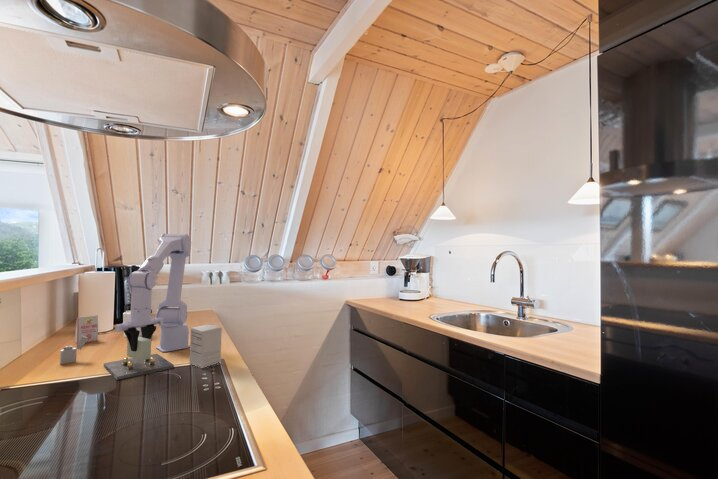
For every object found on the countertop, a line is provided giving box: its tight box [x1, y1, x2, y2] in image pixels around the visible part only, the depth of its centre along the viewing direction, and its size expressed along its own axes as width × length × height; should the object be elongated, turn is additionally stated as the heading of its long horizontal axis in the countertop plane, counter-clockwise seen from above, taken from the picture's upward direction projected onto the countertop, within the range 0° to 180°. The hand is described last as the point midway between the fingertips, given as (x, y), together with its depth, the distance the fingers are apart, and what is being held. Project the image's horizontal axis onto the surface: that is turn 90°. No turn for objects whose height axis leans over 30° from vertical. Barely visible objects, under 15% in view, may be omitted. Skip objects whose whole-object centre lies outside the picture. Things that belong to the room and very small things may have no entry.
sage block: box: [126, 336, 152, 360], centre depth 120 cm, size 3×8×6 cm, turn 61°
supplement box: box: [189, 323, 223, 368], centre depth 124 cm, size 7×7×13 cm
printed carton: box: [74, 315, 99, 345], centre depth 147 cm, size 4×7×10 cm, turn 136°
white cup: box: [122, 310, 142, 338], centre depth 157 cm, size 8×8×10 cm
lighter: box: [59, 336, 88, 365], centre depth 123 cm, size 7×2×8 cm, turn 136°
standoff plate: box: [103, 353, 175, 381], centre depth 120 cm, size 16×16×3 cm
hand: (139, 349), depth 120 cm, fingers closed on sage block, 3 cm apart
